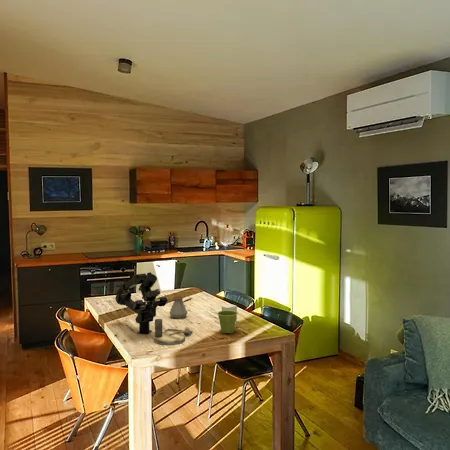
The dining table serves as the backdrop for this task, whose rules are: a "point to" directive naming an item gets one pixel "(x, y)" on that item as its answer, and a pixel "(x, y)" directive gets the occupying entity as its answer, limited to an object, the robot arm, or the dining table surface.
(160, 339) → the disc
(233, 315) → the plant pot
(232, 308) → the small box
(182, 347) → the dining table surface
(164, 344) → the base
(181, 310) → the coffee pot
